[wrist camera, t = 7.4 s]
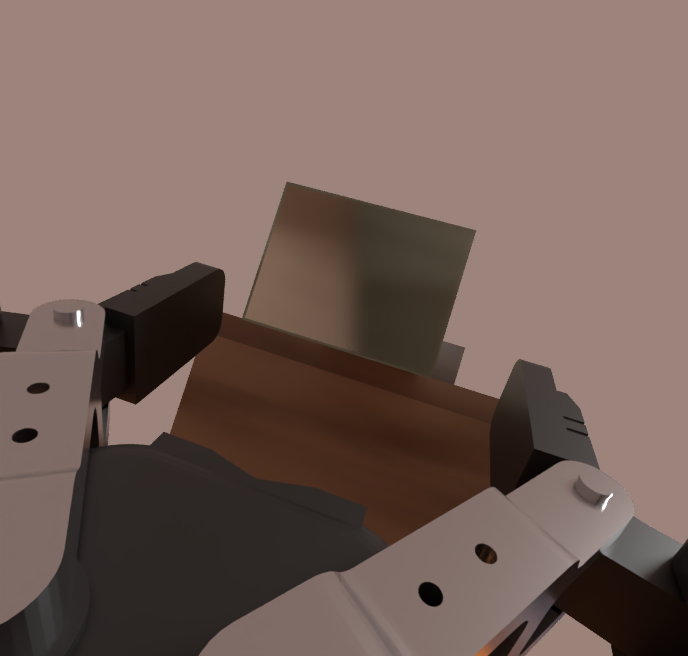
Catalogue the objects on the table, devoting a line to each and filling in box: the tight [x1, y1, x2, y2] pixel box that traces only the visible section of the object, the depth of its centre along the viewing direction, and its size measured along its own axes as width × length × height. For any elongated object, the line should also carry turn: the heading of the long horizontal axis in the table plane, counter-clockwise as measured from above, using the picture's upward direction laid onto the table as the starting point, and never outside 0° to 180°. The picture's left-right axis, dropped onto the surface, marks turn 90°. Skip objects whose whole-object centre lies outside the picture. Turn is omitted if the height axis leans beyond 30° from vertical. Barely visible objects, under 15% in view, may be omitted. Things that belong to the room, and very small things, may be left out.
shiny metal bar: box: [242, 182, 476, 379], centre depth 21 cm, size 24×4×3 cm, turn 171°
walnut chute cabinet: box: [170, 313, 500, 546], centre depth 26 cm, size 18×14×34 cm
